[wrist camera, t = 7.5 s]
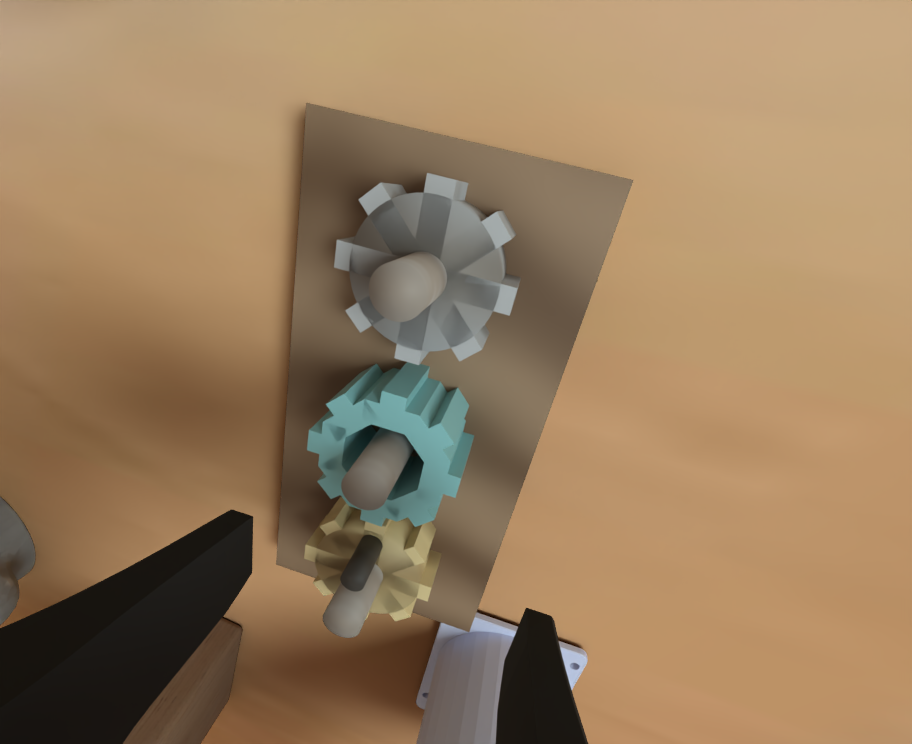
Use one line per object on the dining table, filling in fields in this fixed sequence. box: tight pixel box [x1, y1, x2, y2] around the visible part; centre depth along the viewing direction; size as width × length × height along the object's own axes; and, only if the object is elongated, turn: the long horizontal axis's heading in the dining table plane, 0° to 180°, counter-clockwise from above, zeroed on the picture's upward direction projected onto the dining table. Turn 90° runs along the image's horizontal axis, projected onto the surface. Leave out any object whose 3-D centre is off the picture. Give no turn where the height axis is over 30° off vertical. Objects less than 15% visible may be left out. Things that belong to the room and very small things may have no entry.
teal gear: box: [307, 362, 474, 527], centre depth 17 cm, size 6×6×3 cm
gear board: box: [276, 103, 633, 638], centre depth 17 cm, size 22×11×6 cm, turn 167°
